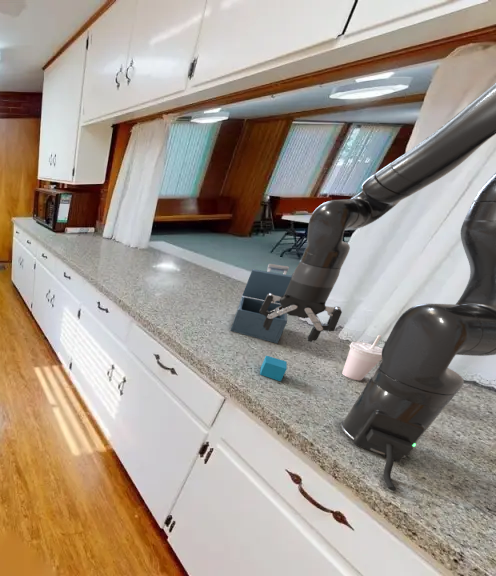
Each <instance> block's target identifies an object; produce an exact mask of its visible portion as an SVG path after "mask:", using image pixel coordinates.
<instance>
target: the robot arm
mask: <svg viewBox="0 0 496 576" xmlns="http://www.w3.org/2000/svg"><path fill="white" fill-rule="evenodd" d="M495 135H496V82H495V83H493V84H492V85H491V86H490V87H488V88H487V89H486V90H485V91H484V92H482V93H481V94H480V95H479V96H478V97H476V98H475V99H474V100H473V101H471V102H470V103H469V104H468V105H466V106H465V107H464V108H463V109H461V111H460V112H458V113H457V114H456V115H454V116H453V117H452V118H450V119H449V120H448V121H446V123H444V124H443V125H442V126H441V127H439V128H437V130H435V131H434V132H433V133H431V134H430V135H429V136H427V137H426V138H425V139H423V140H422V141H421V142H419V143H418V144H417V145H415V146H413V147H412V148H411V149H410V150H408V151H406V152H405V153H404V154H402V155H400V156H399V157H398V158H396V159H395V160H393V161H391V162H390V163H388V164H387V165H386V166H384V167H383V168H381V169H379V170H378V171H376V172H375V173H374V174H373V175H371V176H369V177H368V178H367V179H366V180H365V181H364V182H363V183H362V185H361V191H360V192H359V193H358V194H356V195H355V196H353V197H351V198H349V199H347V198H346V199H331V200H328V201H326V202H325V201H324V202H323V203H322V204H320V205H319V206H318V207H316V208H315V210H314V211H313V212H312V213H311V215H310V217H309V221H308V227H307V236H306V237H307V238H306V239H307V242H306V243H307V244H306V247H305V249H304V252H303V254H302V256H301V258H300V260H299V262H298V263H297V264H298V265H297V266H296V267H295V268H294V271H293V272H292V274H291V276H292V278H291V280H290V283H289V285H288V287H287V290H286V292H285V294H284V295H283V296H282V297H279V296H275V295H273V294H272V293H268V294H267V296H266V298H265V300H263V301H264V302H263V304H262V306H261V308H260V314H261V315H264V316H266V319H265V321H264V323H263V327H264V328H265V330H269V328H270V326H271V323H272V321H273V318H274V317H277V316H280V315H283V314H285V313H287V316H291V317H298V318H300V319H309V320H310V322H311V323H312V324H313V326H312V328H311V330H310V332H309V334H308V336H307V342H310V343H313V341H314V342H316V341H317V340H318V339H319V337H320V335H321V333H322V331H329V332H334V331H335V330H336V328H337V325H338V323H339V321H340V318H341V316H342V313H343V311H342V309H341V307H340V306H328V305H326V302H327V301H328V299H329V297H330V295H331V292H332V291H333V289H334V287H335V285H336V283H337V281H338V279H339V276H340V273H341V270H342V267H343V265H344V263H345V261H346V259H347V257H348V255H349V252H350V250H351V246H350V244H349V243H348V242H346V241H343V238H344V233H345V231H353V230H354V231H355V230H358V229H361V228H364V227H366V226H368V225H370V224H373V223H374V222H376V221H377V220H379V219H380V218H382V217H383V216H384V215H386V214H387V213H388V212H389V211H391V210H392V209H393V208H395V206H396V205H399V203H400V202H401V201H403V200H405V199H406V198H408V197H411V196H412V195H413V194H415V193H418V191H421V190H422V189H424V188H426V187H427V186H429V185H431V184H433V183H435V182H436V181H438V180H440V179H441V178H443V177H444V176H446V175H448V174H449V173H450V172H452V171H453V170H455V169H456V168H458V167H459V166H460V165H461V164H462V163H464V162H465V161H466V160H467V159H468V158H470V156H472V155H473V154H474V153H475V152H476V151H477V150H478V149H480V147H481V146H483V145H484V144H485V143H486V142H488V141H489V140H490V139H491V138H492V137H494V136H495ZM460 241H461V244H462V246H463V251H464V253H465V256H466V259H467V261H468V264H469V271H470V272H469V279H468V282H467V284H466V286H465V289H464V291H463V293H462V294H461V296H460V297H459V299H458V300H457V302H456V303H454V304H453V303H421V304H417V305H414V306H412V307H410V308H408V309H406V310H405V311H404V312H403V313H401V315H400V316H399V317H398V319H397V320H396V322H395V324H394V325H393V327H392V329H391V331H390V332H389V335H388V337H387V339H386V340H385V343H384V345H383V347H382V359H381V360H380V361H381V362H380V363H379V365H378V366H377V368H376V370H375V371H374V373H373V374H372V376H371V377H370V379H369V380H368V382H367V384H366V386H364V388H363V390H362V391H361V393H360V394H359V396H358V398H357V399H356V401H355V402H354V403H353V405H352V407H351V408H350V410H349V411H348V413H347V414H346V416H345V418H344V420H342V421H341V423H340V424H339V427H340V429H341V431H342V432H343V434H344V435H345V436H346V437H347V438H349V439H350V440H351V441H352V443H353V445H355V446H357V447H360V448H362V449H365V450H367V451H371V452H373V453H375V454H377V455H380V456H383V457H385V458H386V461H385V465H384V469H383V479H384V481H385V484H386V486H387V487H388V490H390V491H394V492H395V491H396V490H397V489H396V486H395V484H394V483H393V481H392V478H391V475H392V470H393V467H394V461H396V462H401V461H402V460H403V459H405V458H406V457H407V456H409V454H410V453H411V452H412V451H413V449H414V447H416V444H417V442H418V441H419V440H420V439H421V438H422V436H424V435H425V432H426V431H427V430H428V429H429V427H431V425H432V424H433V423H434V421H435V420H436V419H437V418H438V416H439V415H440V414H441V413H442V411H443V410H444V409H445V408H446V407H447V405H448V404H449V403H450V402H451V401H452V399H453V398H454V397H455V396H456V394H457V393H458V392H459V390H461V388H462V387H463V386H464V383H465V382H464V378H463V377H462V376H461V375H460V374H459V373H458V372H456V371H455V370H453V369H451V368H449V366H450V364H451V363H452V361H453V359H454V358H455V356H472V357H473V356H474V357H475V356H476V357H488V356H495V355H496V172H495V173H494V174H492V176H491V177H490V178H488V180H487V181H486V182H485V183H484V184H483V185H482V187H481V188H479V191H478V192H477V194H476V195H475V197H474V199H473V201H472V203H471V205H470V207H469V209H468V211H467V213H466V215H465V218H464V219H463V222H462V225H461V228H460ZM276 301H280V304H281V305H282V306H279V307H277V308H276V309H274V310H272V311H268V310H267V309H268V307H269V305H270V303H275V302H276ZM323 312H327V316H329V318H328V320H327V323H322V322H321V320H320V318H319V316H318V314H321V313H323Z"/></svg>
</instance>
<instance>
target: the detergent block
mask: <svg viewBox="0 0 496 576" xmlns="http://www.w3.org/2000/svg"><path fill="white" fill-rule="evenodd" d="M287 366H288V363H287V361H286V360H282V359H279V358H276V357H273V356H270V355H265V357H264V359H263V361H262V364H261V365H260V371H259V375H261V376H263V377H266V378H269V379H272V380H275V381H278V382H282V380H283V378H284V376H285V374H286V372H287V369H288V367H287Z"/></svg>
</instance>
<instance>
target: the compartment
mask: <svg viewBox="0 0 496 576" xmlns="http://www.w3.org/2000/svg"><path fill="white" fill-rule="evenodd" d="M263 302H264V300H260V299H255V298H251V297H246V296H241V297H240V300H239V304H238V305H237V309H236V312H235V314H234V317H233V320H232V323H231V327H230V331H231V332H233V333H237V334H241V335H243V336H244V335H245V336H249V337H251V338H255V339H259V340H262V341H266V342H270V343H274V344H279V341H280V339H281V337H282V334H283V332H284V330H285V329H286V326H287V324H288V314H287V313H285V314H283V315H280V316H277V317H274V318H273V321H272V323H271V326H270V328H269V330H265V328H264V327H263V323H264V321H265V319H266V316H264V315H261V314H260V308H261V306H262V304H263ZM279 306H282V305H281V304H279V303H270V305H269V307H268V309H267V310H268V311H272V310H274V309H276V308H277V307H279Z"/></svg>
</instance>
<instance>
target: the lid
mask: <svg viewBox="0 0 496 576" xmlns="http://www.w3.org/2000/svg"><path fill="white" fill-rule="evenodd" d="M289 269H290V267H289V266H287V265H282V264H281V265H280V264H274V263H268V265H267V268H266V270H260V269H254V268H253V269H252V270H251V271H250V275H249V277H248V280H247V282H246V285H245V287H244V289H243V291H242V292H243V293H242V296H244V297H249V298H253V299H258V300H263V301H264V300H265V298H266V296H267V294H268V293H272V294H273V295H275V296H279V297H282V296H283V295H284V294H285V292H286V290H287V287H288V285H289V283H290V280H291V278H292V274H287V273H288V272H289ZM272 271H276V272H272ZM279 272H282V273H279ZM242 296H241V297H242ZM275 303H277V304H280V301H276V302H275Z"/></svg>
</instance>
